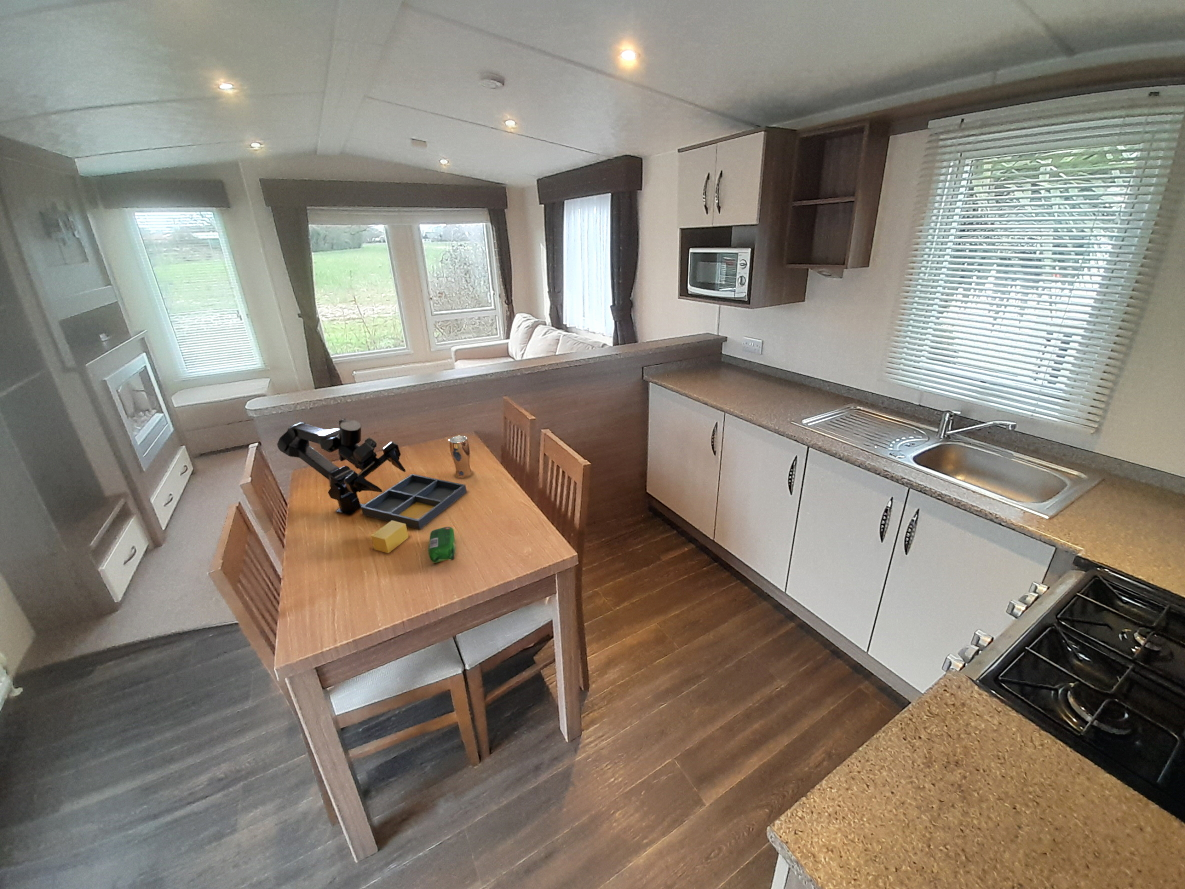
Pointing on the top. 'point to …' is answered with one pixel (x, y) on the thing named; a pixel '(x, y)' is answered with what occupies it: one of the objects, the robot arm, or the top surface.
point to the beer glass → (461, 456)
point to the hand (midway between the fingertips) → (393, 480)
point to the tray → (414, 500)
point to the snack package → (442, 544)
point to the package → (389, 536)
